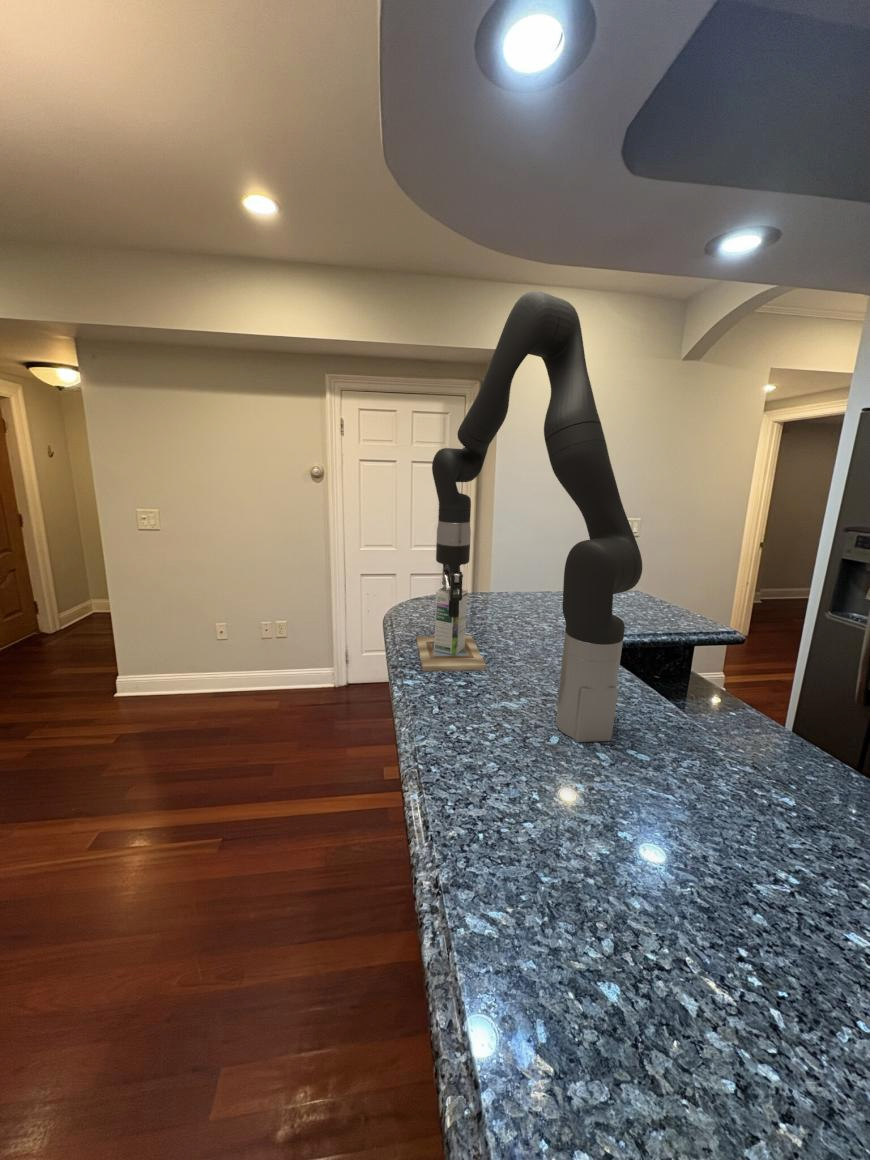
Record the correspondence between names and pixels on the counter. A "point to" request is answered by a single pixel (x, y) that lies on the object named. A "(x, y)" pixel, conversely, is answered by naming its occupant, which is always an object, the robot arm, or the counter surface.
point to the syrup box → (449, 624)
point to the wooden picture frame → (449, 656)
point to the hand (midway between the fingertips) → (450, 610)
